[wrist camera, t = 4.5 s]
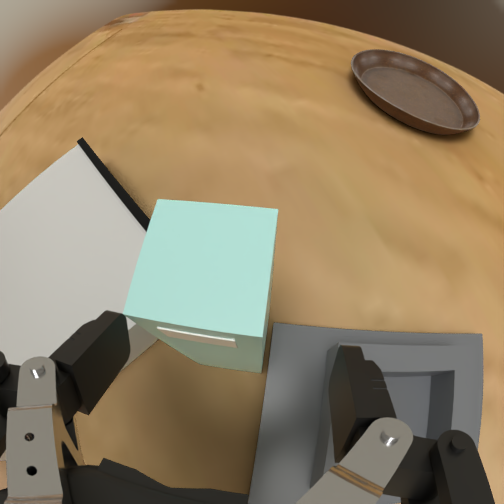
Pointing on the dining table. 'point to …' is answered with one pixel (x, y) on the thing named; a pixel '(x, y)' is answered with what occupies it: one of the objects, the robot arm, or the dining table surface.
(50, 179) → the disc drive
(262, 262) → the plug
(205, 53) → the dining table surface
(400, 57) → the plant saucer
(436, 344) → the port block
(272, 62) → the dining table surface
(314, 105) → the dining table surface
